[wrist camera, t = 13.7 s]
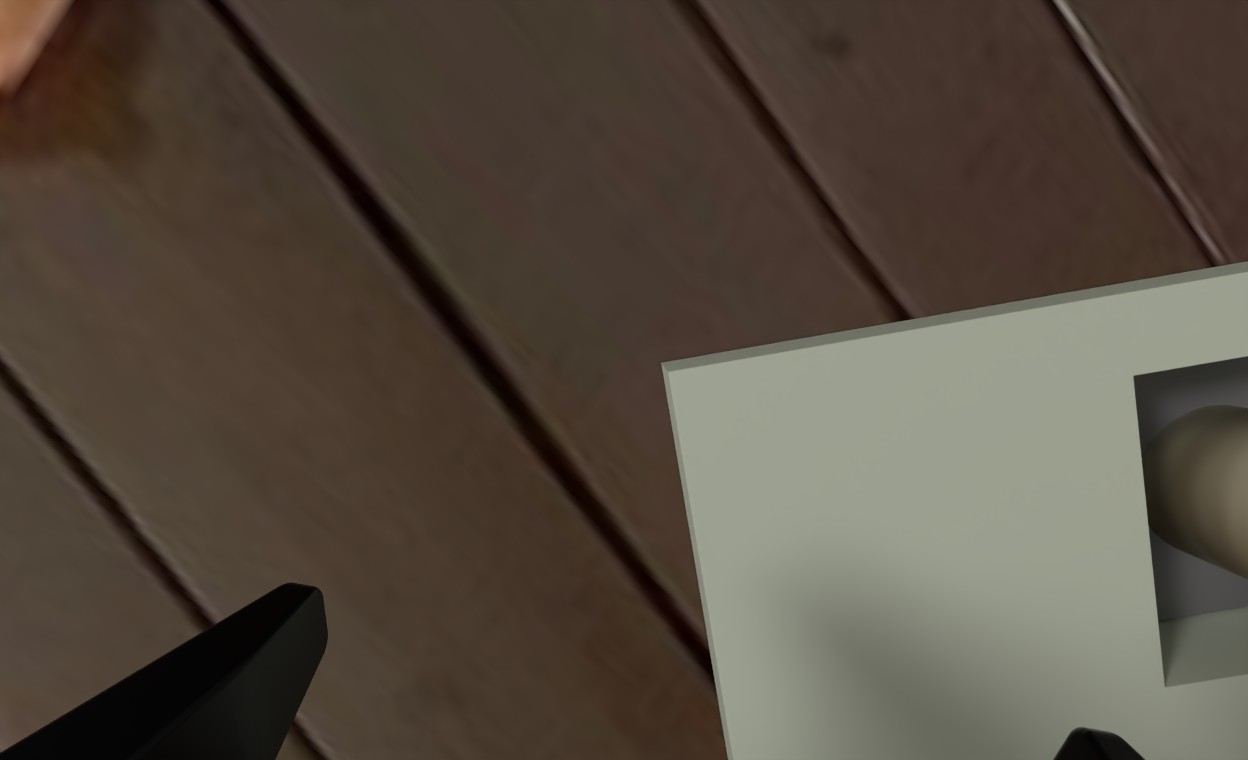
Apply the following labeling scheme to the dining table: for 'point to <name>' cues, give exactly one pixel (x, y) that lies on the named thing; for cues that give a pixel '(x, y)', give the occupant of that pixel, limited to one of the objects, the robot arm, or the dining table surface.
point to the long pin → (1201, 485)
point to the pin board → (966, 531)
